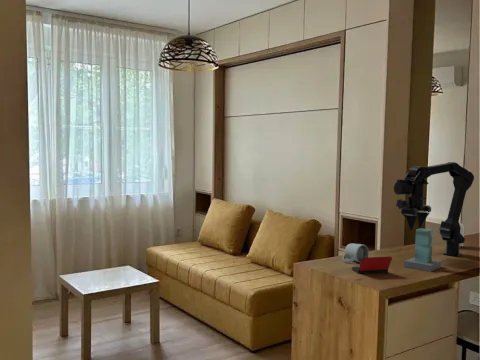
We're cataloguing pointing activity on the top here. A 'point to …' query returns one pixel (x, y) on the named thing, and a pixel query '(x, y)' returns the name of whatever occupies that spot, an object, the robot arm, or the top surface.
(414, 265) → the gray square slab
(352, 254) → the ceramic mug
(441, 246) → the top surface
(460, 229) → the photo printer
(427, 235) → the teal block
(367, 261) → the handheld game console
